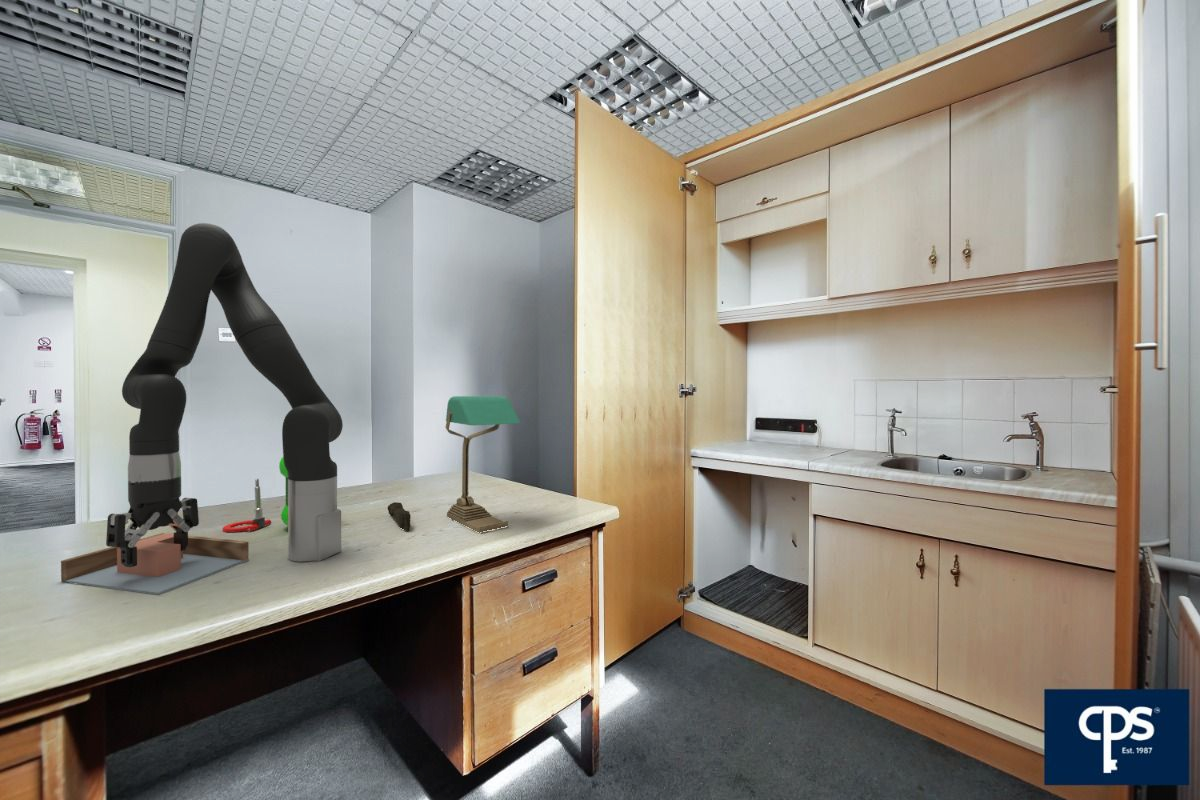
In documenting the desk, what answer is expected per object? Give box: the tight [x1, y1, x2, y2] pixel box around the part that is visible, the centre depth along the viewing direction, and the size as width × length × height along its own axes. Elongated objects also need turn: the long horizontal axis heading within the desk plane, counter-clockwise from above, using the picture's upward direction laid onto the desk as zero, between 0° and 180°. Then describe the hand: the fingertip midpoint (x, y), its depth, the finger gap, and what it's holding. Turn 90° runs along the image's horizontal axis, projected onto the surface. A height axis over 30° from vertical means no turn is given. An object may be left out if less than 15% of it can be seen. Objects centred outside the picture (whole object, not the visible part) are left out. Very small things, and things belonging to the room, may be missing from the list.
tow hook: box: [222, 478, 272, 533], centre depth 121 cm, size 8×13×9 cm
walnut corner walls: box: [60, 532, 250, 583], centre depth 93 cm, size 23×17×4 cm
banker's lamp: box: [445, 395, 522, 534], centre depth 128 cm, size 16×21×35 cm
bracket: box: [117, 532, 183, 577], centre depth 94 cm, size 9×10×5 cm
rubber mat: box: [60, 554, 249, 596], centre depth 93 cm, size 23×17×1 cm
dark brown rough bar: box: [387, 502, 411, 532], centre depth 127 cm, size 19×4×5 cm, turn 31°
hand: (156, 558), depth 91 cm, fingers open, 8 cm apart
